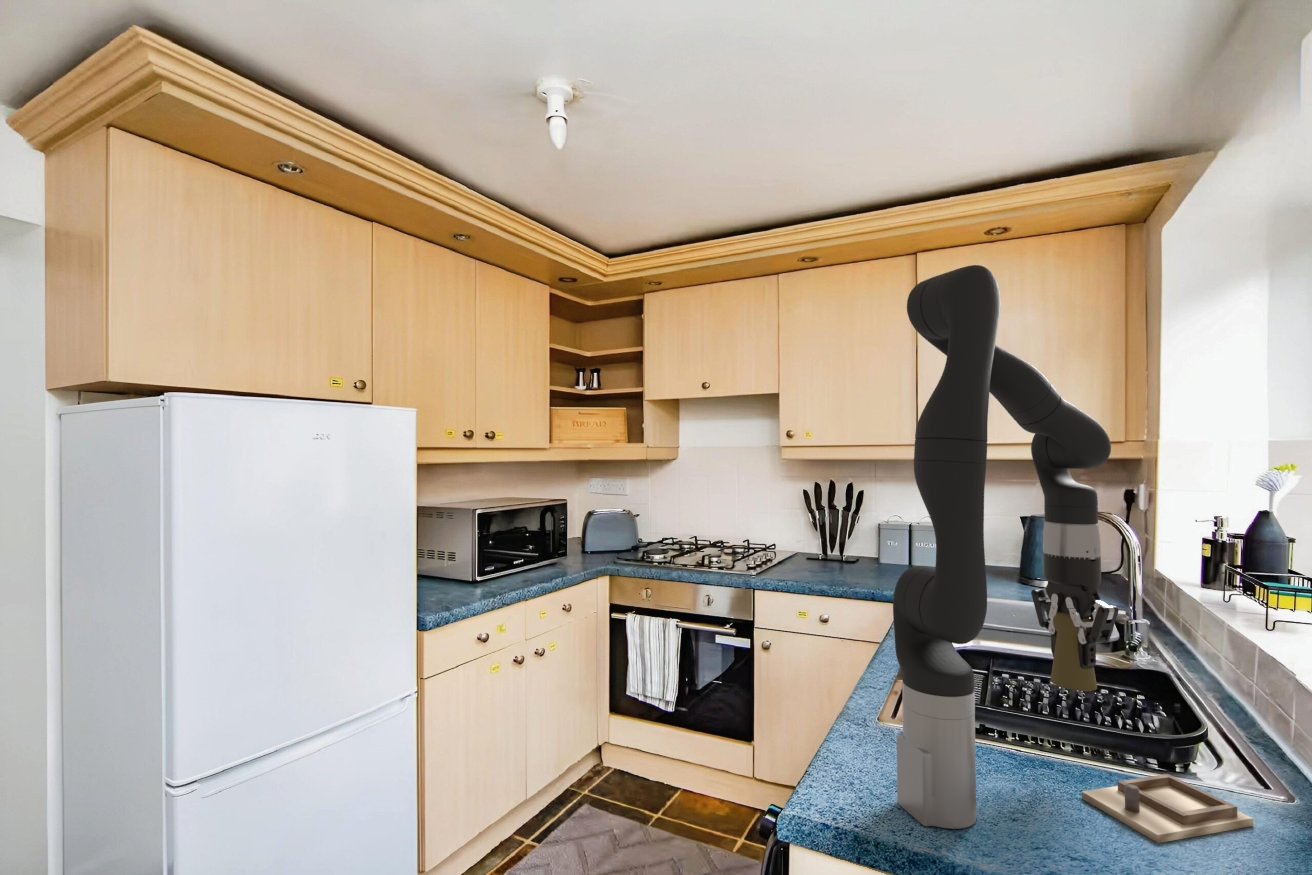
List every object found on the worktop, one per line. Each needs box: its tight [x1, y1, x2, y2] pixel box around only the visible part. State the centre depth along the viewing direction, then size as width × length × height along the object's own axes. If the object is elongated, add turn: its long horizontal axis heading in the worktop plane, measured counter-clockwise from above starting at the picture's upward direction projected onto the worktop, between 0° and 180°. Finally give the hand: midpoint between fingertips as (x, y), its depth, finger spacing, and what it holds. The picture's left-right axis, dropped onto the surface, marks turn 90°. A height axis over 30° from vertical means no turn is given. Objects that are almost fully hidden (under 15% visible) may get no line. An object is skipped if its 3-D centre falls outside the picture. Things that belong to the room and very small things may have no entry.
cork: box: [1050, 612, 1098, 692], centre depth 100 cm, size 6×6×11 cm
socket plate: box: [1081, 773, 1254, 844], centre depth 89 cm, size 16×11×4 cm
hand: (1073, 662), depth 100 cm, fingers closed on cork, 4 cm apart
